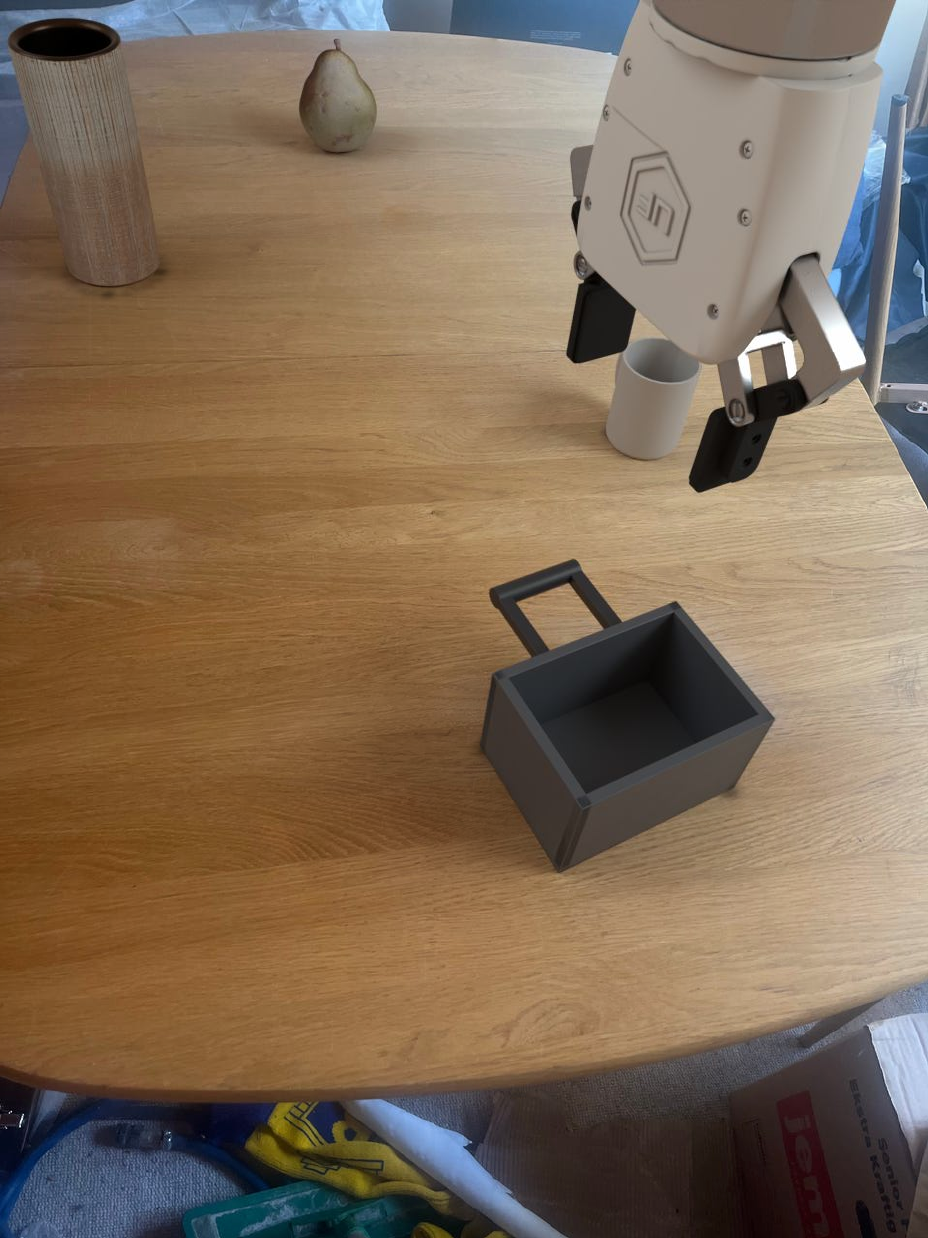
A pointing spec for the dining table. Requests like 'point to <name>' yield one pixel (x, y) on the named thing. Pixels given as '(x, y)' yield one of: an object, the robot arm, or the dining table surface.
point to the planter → (87, 147)
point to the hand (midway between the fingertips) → (654, 413)
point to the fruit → (337, 103)
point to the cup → (651, 398)
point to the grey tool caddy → (614, 721)
